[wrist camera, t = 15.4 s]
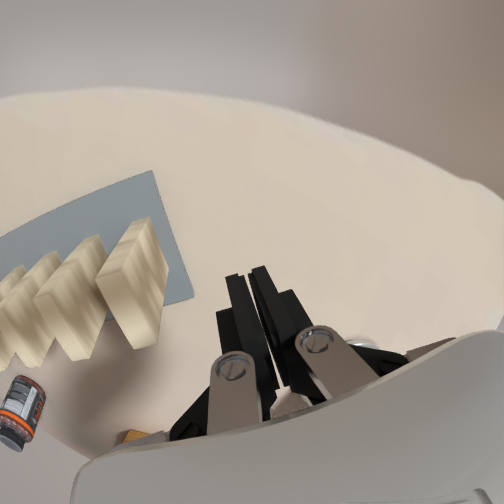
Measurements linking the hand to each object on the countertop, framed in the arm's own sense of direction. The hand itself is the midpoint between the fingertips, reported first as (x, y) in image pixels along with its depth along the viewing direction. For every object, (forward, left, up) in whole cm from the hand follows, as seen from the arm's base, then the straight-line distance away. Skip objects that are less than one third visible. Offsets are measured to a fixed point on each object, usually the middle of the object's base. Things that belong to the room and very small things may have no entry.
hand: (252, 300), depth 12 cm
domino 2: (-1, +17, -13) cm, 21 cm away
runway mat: (-1, +17, -14) cm, 22 cm away
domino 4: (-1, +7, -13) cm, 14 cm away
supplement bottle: (-16, +36, -14) cm, 41 cm away
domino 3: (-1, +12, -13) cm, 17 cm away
